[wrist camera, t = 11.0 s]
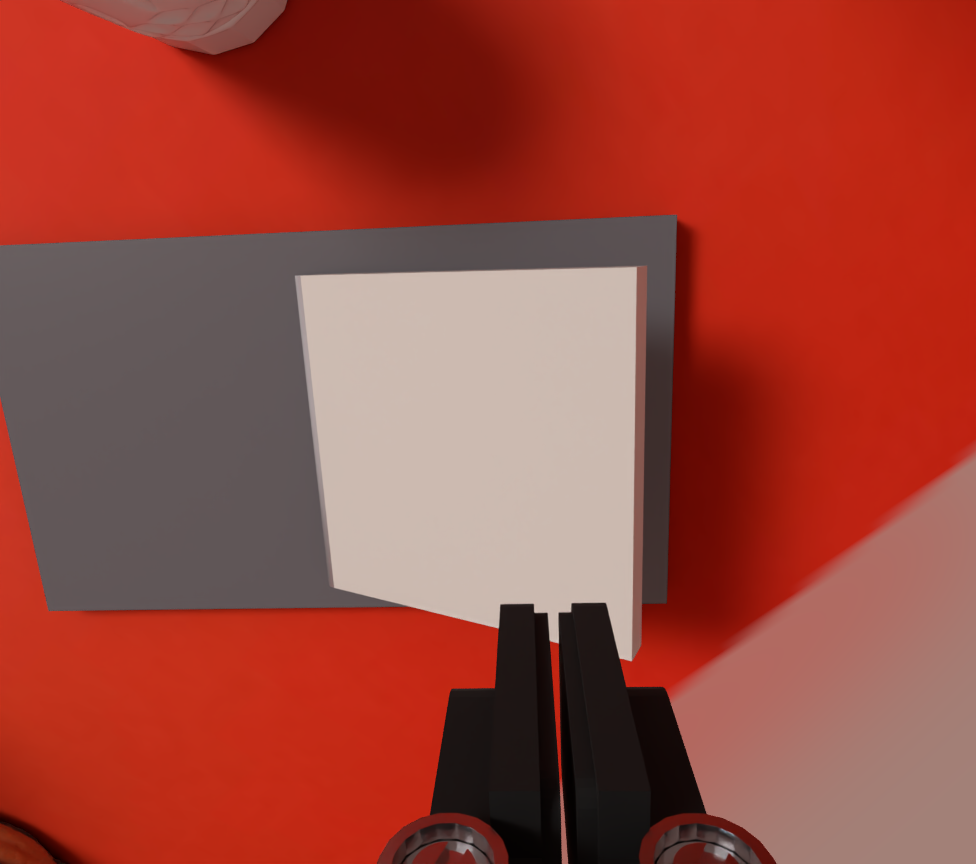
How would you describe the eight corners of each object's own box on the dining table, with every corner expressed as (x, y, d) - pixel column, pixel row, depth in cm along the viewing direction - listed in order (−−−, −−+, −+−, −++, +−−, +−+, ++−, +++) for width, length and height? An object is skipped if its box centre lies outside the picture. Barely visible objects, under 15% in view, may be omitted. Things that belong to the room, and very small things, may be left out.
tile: (288, 276, 25) (310, 274, 26) (323, 585, 28) (341, 573, 29) (636, 267, 19) (648, 265, 20) (631, 661, 22) (642, 643, 23)
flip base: (671, 215, 25) (677, 214, 24) (662, 591, 29) (666, 603, 28) (-14, 247, 27) (-34, 247, 26) (63, 599, 31) (48, 610, 30)
